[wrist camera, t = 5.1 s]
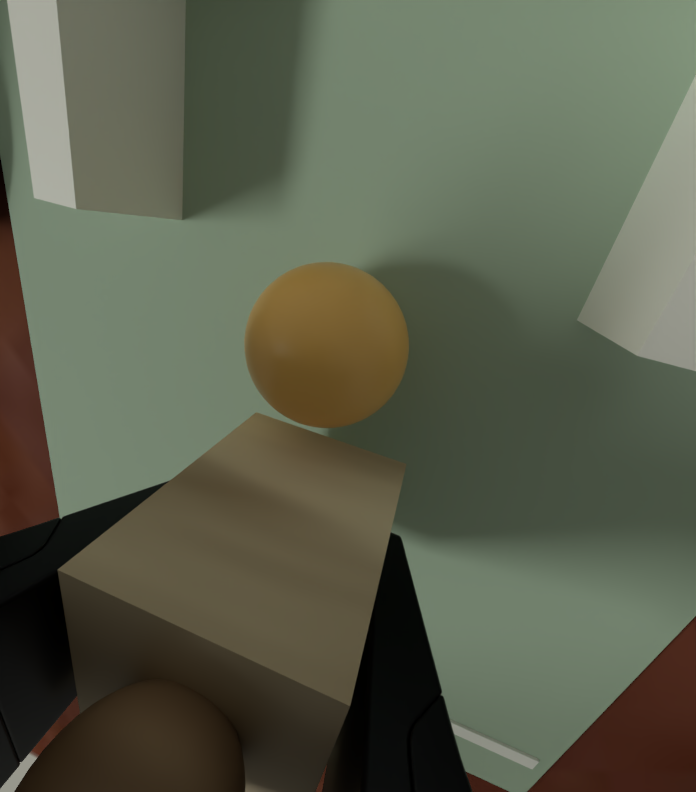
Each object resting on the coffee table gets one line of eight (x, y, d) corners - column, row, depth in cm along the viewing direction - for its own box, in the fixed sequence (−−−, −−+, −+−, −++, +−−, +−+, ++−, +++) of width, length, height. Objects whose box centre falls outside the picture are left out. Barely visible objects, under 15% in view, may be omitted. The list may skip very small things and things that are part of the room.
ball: (365, 485, 7) (420, 315, 5) (207, 426, 8) (208, 253, 6) (396, 402, 10) (438, 274, 8) (281, 363, 11) (296, 235, 9)
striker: (367, 577, 10) (201, 1182, 4) (241, 527, 11) (-99, 960, 4) (406, 464, 9) (239, 1177, 2) (256, 411, 9) (-256, 818, 3)
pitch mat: (519, 783, 15) (521, 800, 14) (78, 580, 18) (69, 588, 18) (1469, -245, 4) (1593, -305, 4) (-48, -258, 8) (-79, -290, 7)
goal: (625, 332, 8) (712, 375, 5) (150, 212, 10) (33, 198, 7) (867, -109, 5) (1315, -503, 2) (143, -155, 7) (-48, -402, 4)
